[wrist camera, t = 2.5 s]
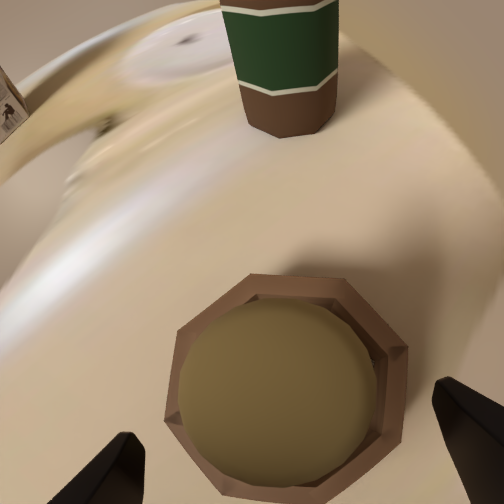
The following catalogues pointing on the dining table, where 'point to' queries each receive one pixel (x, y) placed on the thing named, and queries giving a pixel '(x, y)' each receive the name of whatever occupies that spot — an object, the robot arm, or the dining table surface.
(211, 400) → the cork
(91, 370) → the dining table surface
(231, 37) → the beer bottle
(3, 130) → the coffee box
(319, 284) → the guard ring
